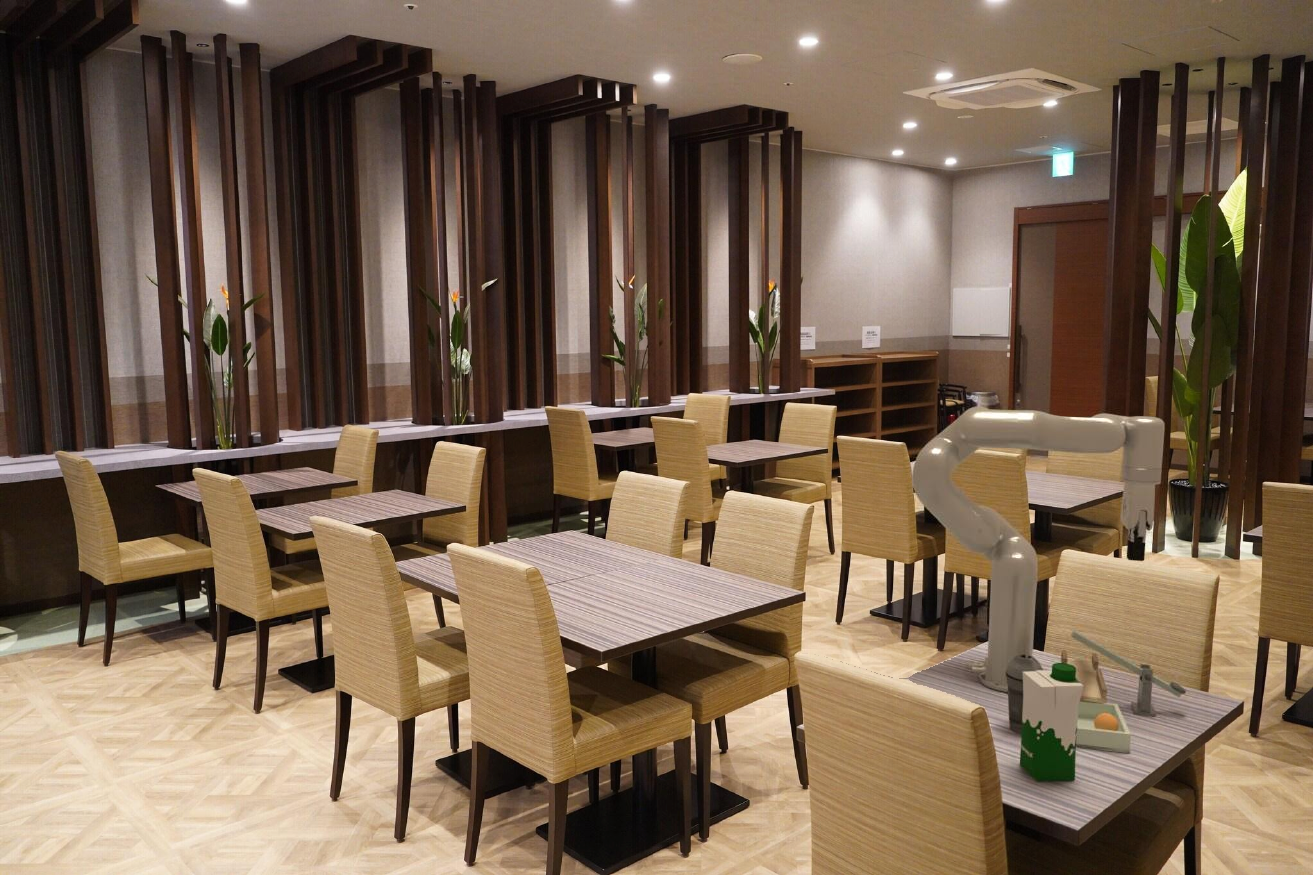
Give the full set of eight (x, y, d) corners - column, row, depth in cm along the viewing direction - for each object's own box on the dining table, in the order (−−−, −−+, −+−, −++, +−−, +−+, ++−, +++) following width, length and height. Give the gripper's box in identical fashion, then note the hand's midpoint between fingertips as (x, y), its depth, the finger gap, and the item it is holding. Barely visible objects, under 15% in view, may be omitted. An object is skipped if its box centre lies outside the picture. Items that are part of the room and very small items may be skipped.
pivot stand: (1135, 714, 206) (1138, 670, 205) (1130, 704, 211) (1133, 661, 210) (1156, 716, 205) (1159, 672, 204) (1151, 707, 210) (1154, 663, 209)
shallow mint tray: (1061, 745, 191) (1063, 726, 190) (1053, 714, 205) (1054, 697, 205) (1129, 753, 188) (1130, 734, 187) (1116, 721, 202) (1117, 704, 202)
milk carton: (1082, 782, 176) (1089, 675, 173) (1033, 784, 175) (1039, 676, 172) (1058, 760, 184) (1064, 657, 182) (1011, 762, 184) (1017, 659, 181)
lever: (1072, 638, 209) (1076, 631, 208) (1070, 633, 212) (1074, 626, 211) (1182, 700, 204) (1187, 693, 203) (1179, 694, 207) (1184, 687, 207)
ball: (1090, 711, 194) (1087, 728, 196) (1105, 726, 191) (1102, 743, 193) (1109, 705, 195) (1106, 722, 197) (1125, 720, 192) (1121, 737, 194)
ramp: (1067, 720, 202) (1070, 675, 201) (1059, 691, 218) (1061, 649, 217) (1104, 724, 201) (1107, 679, 199) (1093, 695, 216) (1096, 652, 215)
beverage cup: (1035, 723, 201) (1040, 629, 198) (1045, 738, 194) (1051, 641, 191) (998, 721, 202) (1003, 627, 199) (1007, 737, 194) (1012, 639, 192)
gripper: (1116, 468, 216) (1110, 550, 218) (1128, 479, 202) (1122, 567, 204) (1153, 470, 214) (1147, 552, 216) (1168, 481, 200) (1161, 569, 202)
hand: (1135, 559), depth 210 cm, fingers closed
